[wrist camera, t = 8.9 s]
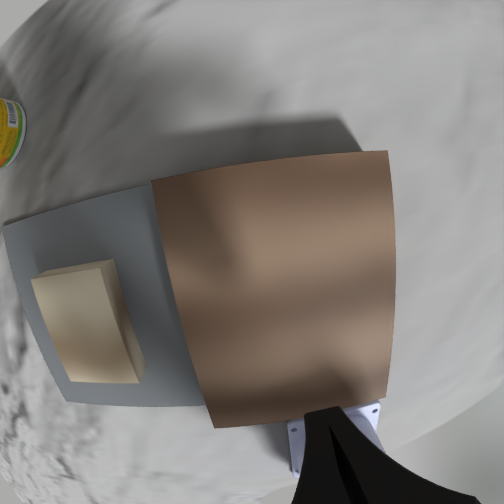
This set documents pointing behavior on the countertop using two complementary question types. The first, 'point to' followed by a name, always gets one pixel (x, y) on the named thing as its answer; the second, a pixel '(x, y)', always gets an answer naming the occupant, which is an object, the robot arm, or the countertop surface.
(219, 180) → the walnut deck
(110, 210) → the grey flat slab
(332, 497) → the robot arm
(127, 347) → the birch tile
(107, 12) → the countertop surface
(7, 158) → the supplement bottle
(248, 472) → the countertop surface
